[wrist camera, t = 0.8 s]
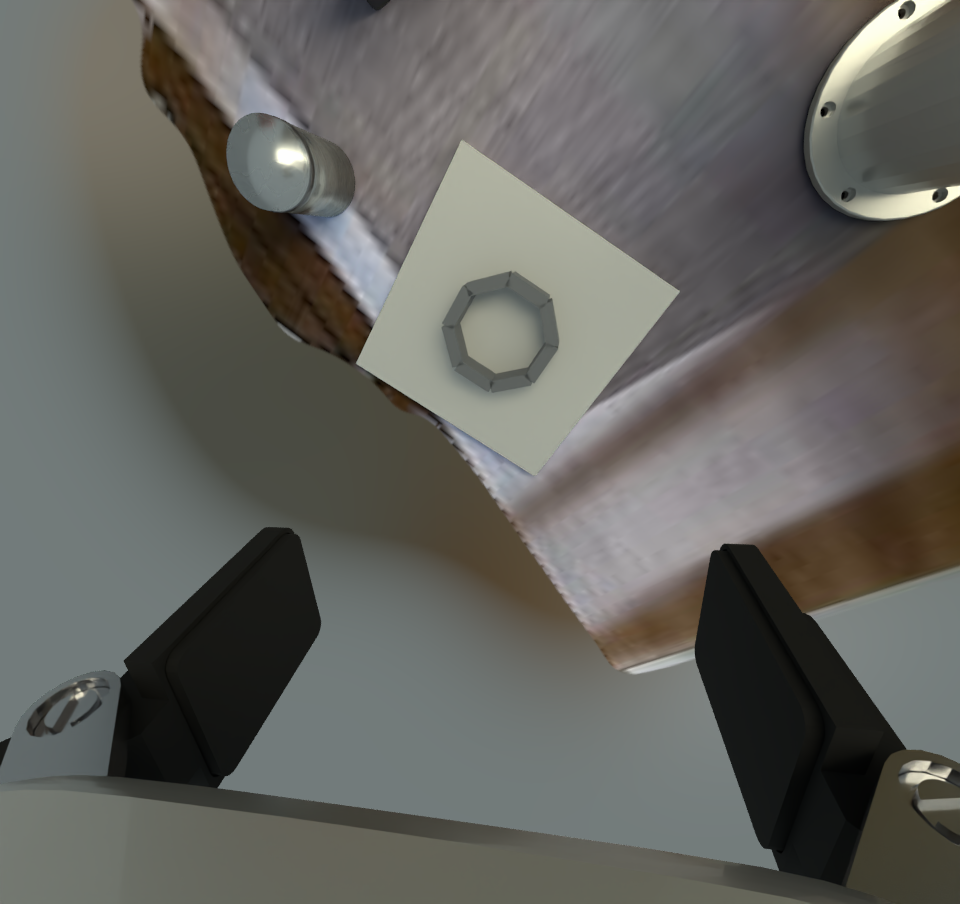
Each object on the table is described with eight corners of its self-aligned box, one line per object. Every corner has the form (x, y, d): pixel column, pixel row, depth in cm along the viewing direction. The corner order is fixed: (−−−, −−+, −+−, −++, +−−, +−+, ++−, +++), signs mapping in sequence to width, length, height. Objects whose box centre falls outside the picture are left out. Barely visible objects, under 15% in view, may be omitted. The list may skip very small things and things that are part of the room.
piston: (304, 123, 36) (239, 92, 28) (366, 164, 36) (317, 144, 29) (282, 193, 38) (216, 181, 31) (340, 231, 38) (288, 228, 31)
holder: (464, 142, 34) (454, 132, 31) (677, 290, 36) (687, 294, 33) (360, 361, 43) (344, 370, 40) (535, 471, 45) (533, 489, 42)
